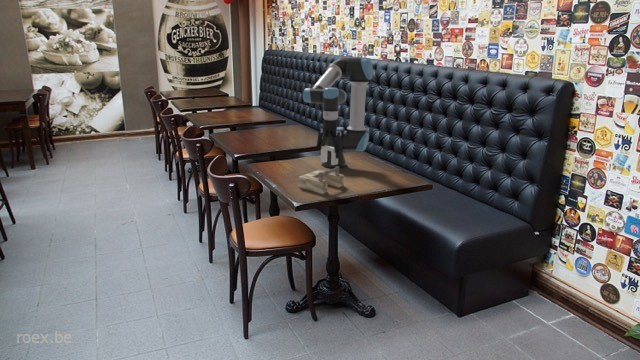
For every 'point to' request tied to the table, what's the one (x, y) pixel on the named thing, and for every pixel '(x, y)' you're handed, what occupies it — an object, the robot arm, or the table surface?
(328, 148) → the white u-shaped bracket
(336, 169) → the c-clamp
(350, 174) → the table surface
